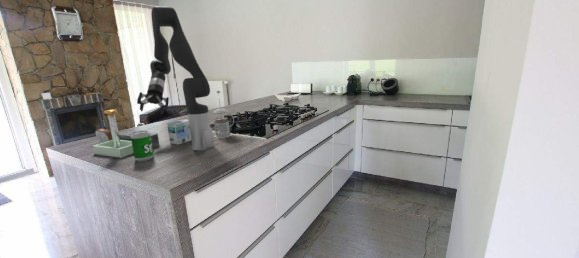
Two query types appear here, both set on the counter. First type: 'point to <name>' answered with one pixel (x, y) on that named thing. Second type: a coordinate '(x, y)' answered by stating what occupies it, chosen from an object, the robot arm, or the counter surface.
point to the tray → (114, 149)
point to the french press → (218, 122)
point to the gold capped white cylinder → (113, 127)
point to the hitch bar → (127, 134)
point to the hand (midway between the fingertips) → (151, 111)
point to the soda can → (142, 145)
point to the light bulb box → (179, 131)
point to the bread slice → (103, 135)
